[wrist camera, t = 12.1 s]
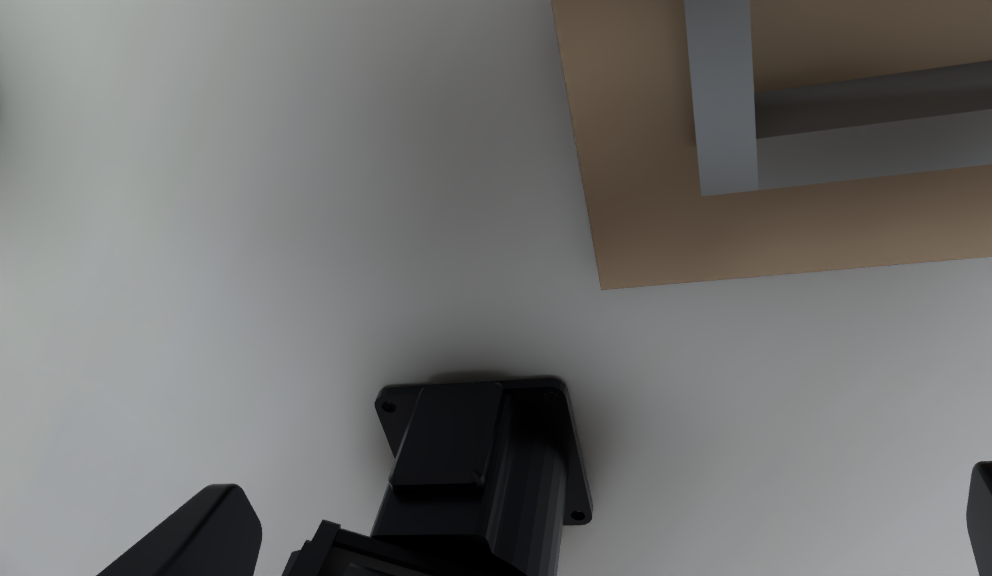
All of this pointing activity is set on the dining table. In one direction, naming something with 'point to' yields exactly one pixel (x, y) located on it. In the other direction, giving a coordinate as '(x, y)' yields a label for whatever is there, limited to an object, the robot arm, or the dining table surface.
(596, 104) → the duct collar
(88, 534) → the dining table surface
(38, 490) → the dining table surface
